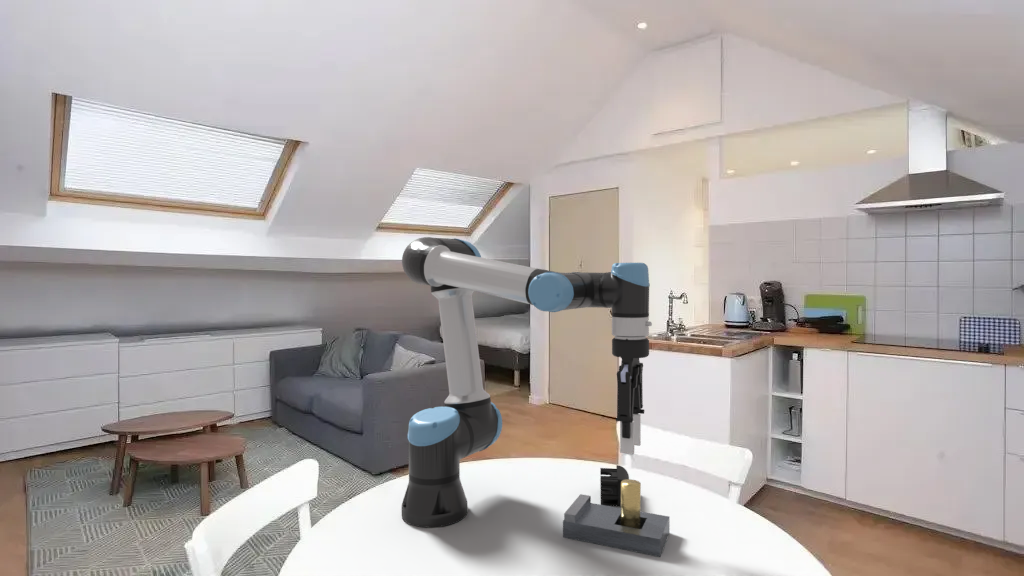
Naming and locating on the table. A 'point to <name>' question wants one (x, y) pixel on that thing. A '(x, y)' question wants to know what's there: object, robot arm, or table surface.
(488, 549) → the table surface
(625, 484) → the brass cylinder rod
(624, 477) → the end cap
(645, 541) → the jig
